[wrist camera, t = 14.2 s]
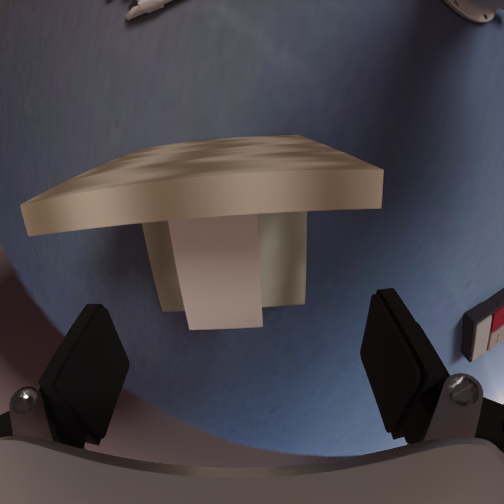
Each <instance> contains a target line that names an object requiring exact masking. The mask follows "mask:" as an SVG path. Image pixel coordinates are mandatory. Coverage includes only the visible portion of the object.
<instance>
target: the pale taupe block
mask: <svg viewBox="0 0 504 504" xmlns="http://www.w3.org/2000/svg"><path fill="white" fill-rule="evenodd" d="M168 224H169V230H170V236H171V242H172V248H173V253H174V258H175V264H176V269H177V274H178V279H179V284H180V289H181V294H182V299H183V303H184V308H185V313H186V317H187V321H188V326H189V330H207V329H233V328H252V327H263V320H262V299H261V279H260V260H259V241H258V222H257V214H246V215H231V216H217V217H204V218H191V219H180V220H168Z"/></svg>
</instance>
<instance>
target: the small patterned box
mask: <svg viewBox="0 0 504 504" xmlns="http://www.w3.org/2000/svg"><path fill="white" fill-rule="evenodd" d="M502 340H504V288H503V289H502V290H500V291H499V292H497V293H496V294H495V295H493V296H492V297H490V298H489V299H488V300H486V301H485V302H481V303H480V304H478V305H476V306H475V307H473V308H471V309H470V310H468V311H466V312H465V313H464V317H463V333H462V345H461V352H462V354H463V355H464V356H465V357H466V359H467V360H468V361H469V362H471V361H474V360H475V359H477V358H478V357H480V356H481V355H482V354H484V353H485V352H486V351H487V350H488V351H489V350H491V349H492V348H493V347H495V346H496V345H497V344H499V343H500V342H501V341H502Z"/></svg>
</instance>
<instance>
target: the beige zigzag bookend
mask: <svg viewBox="0 0 504 504" xmlns="http://www.w3.org/2000/svg"><path fill="white" fill-rule="evenodd" d="M383 174H384V170H383V169H380V168H378V167H376V166H374V165H372V164H369V163H367V162H365V161H363V160H360V159H358V158H356V157H353V156H351V155H349V154H346V153H344V152H342V151H339V150H337V149H334V148H332V147H329V146H327V145H324V144H322V143H319V142H316V141H314V140H311V139H308V138H306V137H303V136H300V135H274V136H253V137H238V138H225V139H213V140H203V141H194V142H185V143H177V144H170V145H163V146H156V147H149V148H143V149H141V150H138V151H135V152H133V153H130V154H128V155H125V156H123V157H120V158H118V159H115V160H113V161H110V162H108V163H105V164H103V165H101V166H98V167H96V168H94V169H92V170H89V171H87V172H85V173H83V174H80V175H78V176H76V177H74V178H72V179H70V180H68V181H66V182H63V183H61V184H59V185H57V186H55V187H53V188H51V189H49V190H47V191H46V192H44V193H42V194H40V195H38V196H36V197H34V198H32V199H30V200H29V201H27V202H25V203H23V204H21V205H20V206H21V210H22V214H23V218H24V222H25V226H26V229H27V233H28V236H35V235H42V234H50V233H58V232H65V231H73V230H82V229H90V228H99V227H108V226H117V225H127V224H136V223H142V227H143V232H144V237H145V241H146V246H147V251H148V255H149V260H150V264H151V269H152V273H153V277H154V281H155V285H156V289H157V293H158V297H159V301H160V305H161V309H162V312H166V311H185V308H184V303H183V299H182V294H181V289H180V284H179V279H178V274H177V269H176V264H175V258H174V253H173V248H172V242H171V236H170V230H169V224H168V220H180V219H191V218H204V217H217V216H231V215H246V214H257V222H258V241H259V260H260V279H261V299H262V307H274V306H287V305H300V304H305V288H306V253H307V211H320V210H347V209H381V205H382V192H383Z"/></svg>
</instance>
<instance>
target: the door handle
mask: <svg viewBox="0 0 504 504" xmlns="http://www.w3.org/2000/svg"><path fill="white" fill-rule="evenodd" d="M110 1H111V0H110ZM137 1H138V4H139V5H137V6H135V7H133V8H132V9H131V10H130V11H128V12H127V15H125V16H126V18H127V20H130V19H132V18H135V17H137V16H139V15H142V14H144V13H146V12H147V13H151V12H153V11H155V10H158V9H160V8H163V7H165V6H164V4H166V3H168V2H170V1H173V0H137Z"/></svg>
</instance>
